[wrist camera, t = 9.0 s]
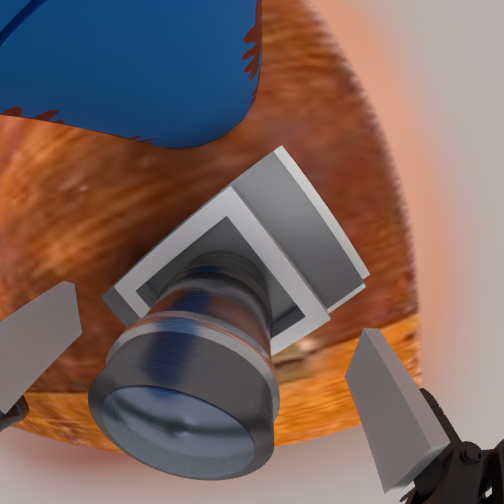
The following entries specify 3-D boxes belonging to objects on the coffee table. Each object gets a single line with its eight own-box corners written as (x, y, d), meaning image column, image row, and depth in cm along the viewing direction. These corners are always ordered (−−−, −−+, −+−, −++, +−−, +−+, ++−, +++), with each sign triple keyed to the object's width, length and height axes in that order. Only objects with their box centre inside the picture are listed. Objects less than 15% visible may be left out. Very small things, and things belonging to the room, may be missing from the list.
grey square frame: (206, 356, 22) (190, 410, 16) (131, 272, 21) (87, 307, 14) (351, 260, 20) (388, 295, 13) (276, 153, 18) (285, 139, 11)
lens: (217, 350, 16) (182, 493, 7) (156, 284, 15) (54, 399, 6) (291, 303, 15) (322, 457, 5) (229, 226, 14) (164, 320, 4)
